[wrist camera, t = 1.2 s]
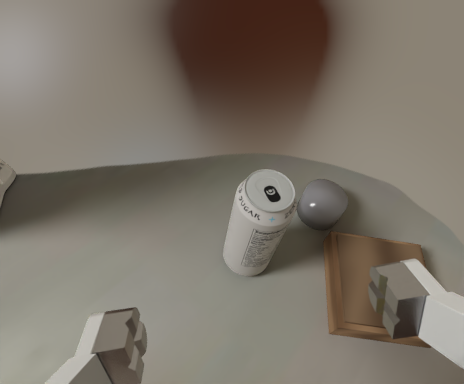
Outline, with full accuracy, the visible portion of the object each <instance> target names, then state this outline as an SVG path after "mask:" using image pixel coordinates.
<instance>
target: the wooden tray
mask: <svg viewBox="0 0 464 384" xmlns="http://www.w3.org/2000/svg"><path fill="white" fill-rule="evenodd" d="M323 245H324V261H325V277H326V293H327V309H328V324H329V334H335V335H342V336H349V337H356V338H363V339H370V340H377V341H384V342H391V343H398V344H405V345H412V346H419V347H426V348H430V347H432V346H430V345H429V344H427V343H426V342H425V341H423V340H422V339H420V338H419V337H418V336H413V337H406V338H399V339H392V338H391V336H390V334H389V333H388V331H387V330H386V328H385V326H384V325H383V323H382V321H383V316H382V315H380V314H379V313H377V312H376V311H375V310H374V308H373V306H372V304H371V301H370V298H369V293H368V285H369V283H370V282H371V281H372V278H371V277H370V275H369V273H370V268H371V266H376V265H382V264H387V263H393V262H400V261H404V260H409V259H417V260H418V261H419V262H420V263H421V264H422V265H423V266H424V267H425V268H426V265H425V261H424V257H423V253H422V249H421V245H418V244H412V243H405V242H399V241H392V240H386V239H379V238H373V237H366V236H360V235H353V234H346V233H340V232H333V231H331V232H330V233H329V235H328V236H327V237H326V239H325V240H324V241H323Z"/></svg>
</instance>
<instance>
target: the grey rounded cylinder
mask: <svg viewBox="0 0 464 384" xmlns="http://www.w3.org/2000/svg"><path fill="white" fill-rule="evenodd" d="M347 206H348V198H347V195H346V193H345V191H344V190H343V189H342V188H341V187H340V186H339V185H337V184H336V183H334V182H332V181H329V180H325V179H318V180H314V181H312V182H310V183H309V184H308V185H307V187H306V189H305V191H304V193H303V194H302V196H301V198H300V200H299V202H298V205H297V213H298V215H299V217H300V219H301V220H302V221H303V222H304V223H305V224H306V225H307V226H309V227H311V228H313V229H317V230H326V229H329V228H331V227H333V226H334V224H335V223H336V222H337V221H338V219H339V218H340V217H341V215H342V214H343V212H344V211H345V210H346V208H347Z"/></svg>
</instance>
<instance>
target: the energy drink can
mask: <svg viewBox="0 0 464 384" xmlns="http://www.w3.org/2000/svg"><path fill="white" fill-rule="evenodd" d="M296 207H297V203H296V198H295V189H294V186H293V184H292V182H291V181H290V179H289V178H287V177H286V176H285V175H284V174H282V173H280V172H278V171H275V170H270V169H262V170H258V171H255V172H253V173H252V174H250V175H249V176H248V177H247V179H246V180H244V181H243V182H242V183H241V184H240V185H239V187H238V188H237V191H236V195H235V199H234V203H233V208H232V212H231V217H230V221H229V226H228V230H227V235H226V239H225V244H224V248H223V257H224V260H225V262H226V264H227V265H228V267H229V268H230V269H231V270H232V271H234V272H235V273H237V274H240V275H243V276H253V275H257V274H259V273H261V272H262V271H263V270H265V268H266V267H267V265H268V264H269V262H270V260H271V258H272V256H273V254H274V252H275V250H276V248H277V246H278V244H279V242H280V240H281V239H282V237H283V235H284V233H285V231H286V229H287V227H288V225H289V223H290V221H291V219H292V217H293V216H294V213H295V211H296Z"/></svg>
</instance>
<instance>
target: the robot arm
mask: <svg viewBox="0 0 464 384" xmlns="http://www.w3.org/2000/svg"><path fill="white" fill-rule="evenodd" d="M15 177H16V173H15V171H14V170H13V169H12V168H11V167H10V166H9V165H7V164H6V163H5V162H3V161H2V160H1V159H0V207H1V204H2V200H3V196H4V193H5V191H6V190H7V188H8V187H9V186H10V185H11V183H12V182H13V181H14V179H15ZM369 275H370V277H371V278H372V281H371V282H370V283H369V285H368V293H369V298H370V301H371V304H372V306H373V308H374V310H375V311H376V312H377V313H379V314H380V315H382V316H383V321H382V323H383V325H384V326H385V328H386V330H387V331H388V333H389V334H390V336H391V338H392V339H399V338H406V337H413V336H418V337H419V338H420V339H422V340H423V341H425V342H426V343H427V344H429V345H430V346H432V347H433V348H434V349H436V350H437V351H439V352H440V353H441V354H443V355H444V356H446V357H447V358H448V359H450V360H451V361H453V362H454V363H455V364H457V365H458V366H460V367H461V368H462V369H464V297H462V296H460V295H458V294H456V293H454V292H447V291H446V290H445V289H444V288H443V287H442V286H441V285H440V284H439V283H438V281H437V280H436V279H435V278H434V277H433V276H432V275H431V274H430V273H429V272H428V271H427V269H426V268H425V267H424V266H423V265H422V264H421V263H420V262H419V261H418V260H417V259H409V260H404V261H400V262H393V263H387V264H382V265H376V266H371V268H370V273H369ZM139 318H140V313H139V311H138V309H137V308H136V307H133V308H126V309H119V310H113V311H106V312H101V313H94V314H91V315H90V317H89V318H88V320H87V323H86V326H85V329H84V331H83V334H82V337H81V340H80V343H79V345H78V348H77V351H76V354H75V356H74V357H72V358H69V359H68V360H67V361H66V362H65V363H64V364H63V365H62V366H61V367H60V368H59V369H58V370H57V371H56V372H55V373H54V374H53V375H52V376H51V377H50V378H49V379H48V380H47V381H46V382H45V383H44V384H141V381H142V374H143V368H144V363H143V361H142V358H141V357H142V356H143V355H144V354H145V352H146V348H147V334H146V329H145V326H144V323H142V322H140V321H139Z"/></svg>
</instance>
